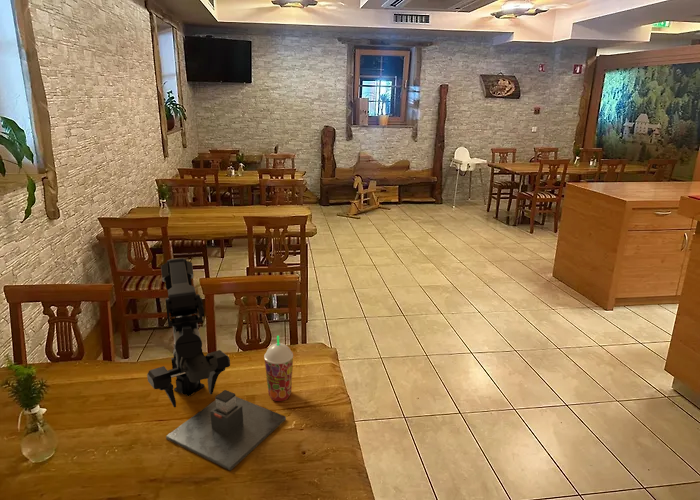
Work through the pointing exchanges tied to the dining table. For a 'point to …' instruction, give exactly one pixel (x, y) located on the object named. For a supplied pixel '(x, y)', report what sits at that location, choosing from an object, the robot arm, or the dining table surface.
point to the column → (225, 402)
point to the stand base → (226, 432)
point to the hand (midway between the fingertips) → (193, 400)
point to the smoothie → (279, 371)
